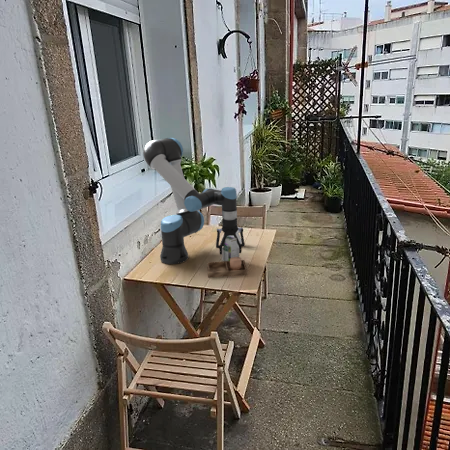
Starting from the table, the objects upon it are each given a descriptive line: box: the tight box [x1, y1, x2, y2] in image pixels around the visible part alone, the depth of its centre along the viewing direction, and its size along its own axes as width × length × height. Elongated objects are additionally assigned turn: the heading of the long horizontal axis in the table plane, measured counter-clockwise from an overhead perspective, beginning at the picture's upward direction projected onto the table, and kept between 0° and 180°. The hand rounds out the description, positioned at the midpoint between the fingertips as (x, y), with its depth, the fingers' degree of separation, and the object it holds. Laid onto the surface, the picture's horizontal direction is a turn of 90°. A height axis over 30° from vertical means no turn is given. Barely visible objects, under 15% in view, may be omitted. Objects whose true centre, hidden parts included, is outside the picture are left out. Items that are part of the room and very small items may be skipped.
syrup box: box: [223, 235, 238, 261], centre depth 197 cm, size 6×6×14 cm
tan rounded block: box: [230, 256, 242, 271], centre depth 187 cm, size 6×6×6 cm
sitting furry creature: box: [233, 226, 242, 244], centre depth 220 cm, size 10×9×12 cm
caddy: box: [206, 259, 248, 278], centre depth 188 cm, size 19×12×4 cm, turn 95°
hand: (230, 259), depth 198 cm, fingers open, 8 cm apart
